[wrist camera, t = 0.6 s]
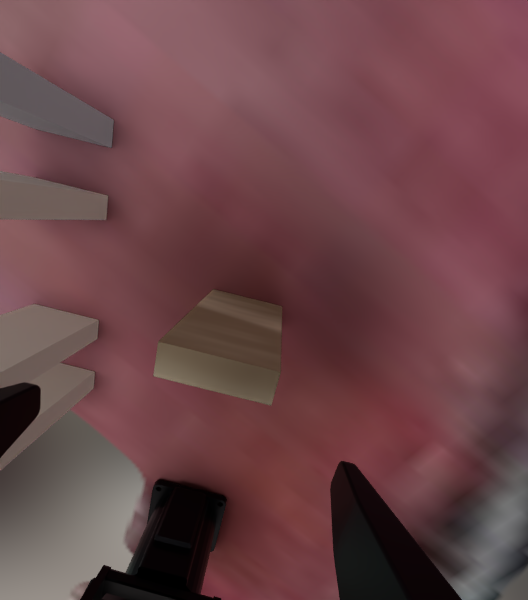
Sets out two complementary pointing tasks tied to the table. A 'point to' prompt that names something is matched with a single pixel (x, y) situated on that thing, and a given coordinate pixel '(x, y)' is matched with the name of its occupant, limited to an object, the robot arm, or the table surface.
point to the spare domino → (225, 347)
